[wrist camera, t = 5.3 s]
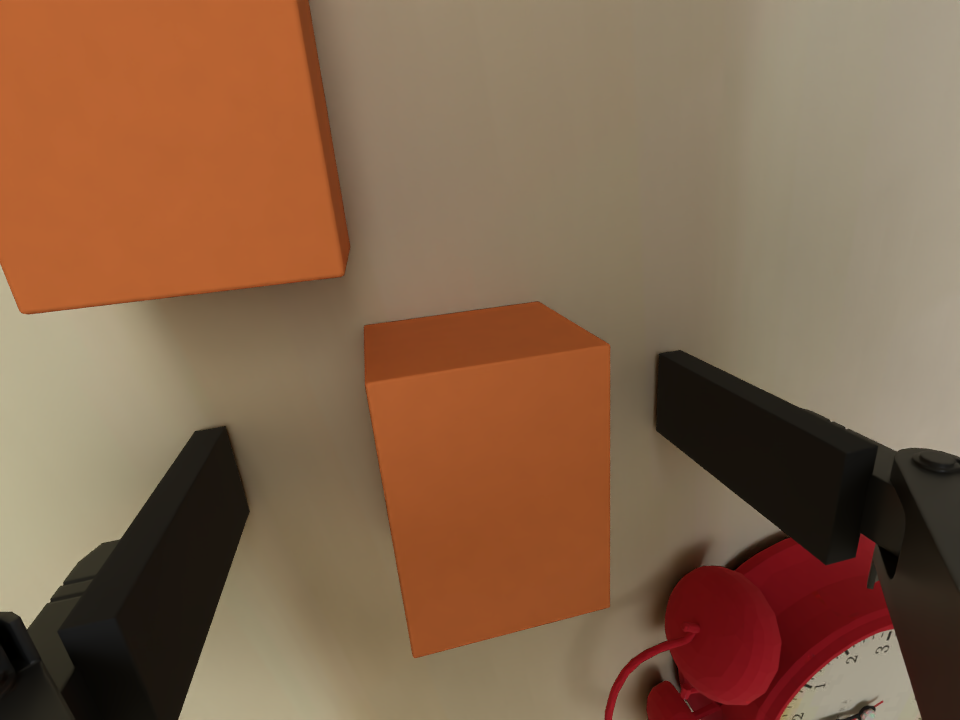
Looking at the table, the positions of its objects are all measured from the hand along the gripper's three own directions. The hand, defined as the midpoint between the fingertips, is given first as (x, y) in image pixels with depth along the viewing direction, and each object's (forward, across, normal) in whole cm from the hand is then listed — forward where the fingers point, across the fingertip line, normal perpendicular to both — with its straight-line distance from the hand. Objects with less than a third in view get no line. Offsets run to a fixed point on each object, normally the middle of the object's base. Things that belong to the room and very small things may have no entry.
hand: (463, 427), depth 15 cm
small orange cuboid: (0, 0, 0) cm, 0 cm away
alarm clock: (0, +11, -12) cm, 16 cm away
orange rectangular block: (0, -5, +9) cm, 10 cm away
